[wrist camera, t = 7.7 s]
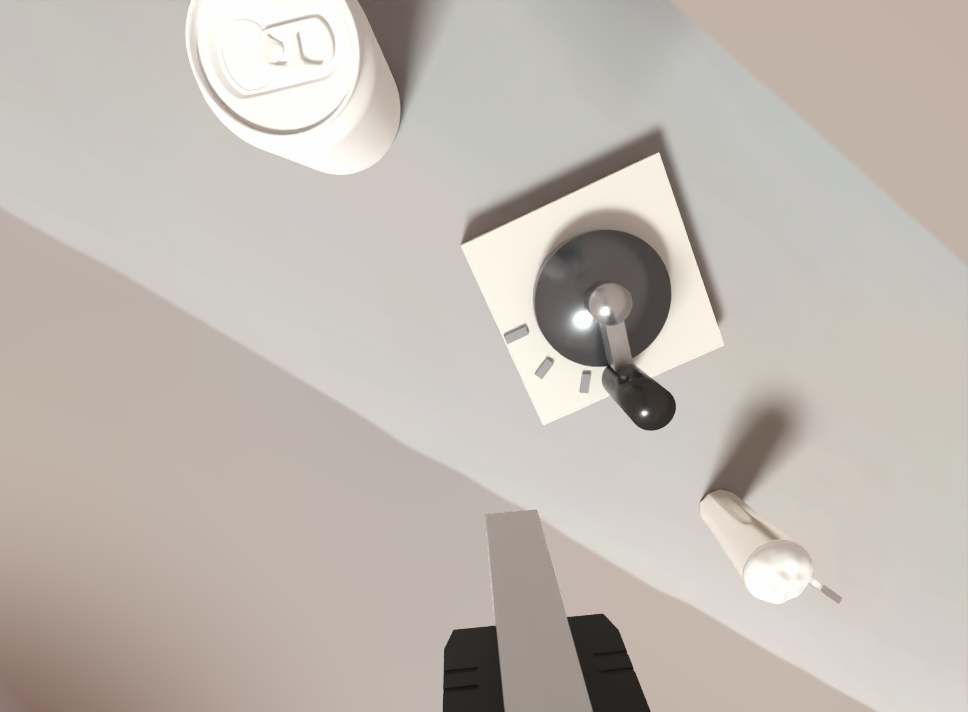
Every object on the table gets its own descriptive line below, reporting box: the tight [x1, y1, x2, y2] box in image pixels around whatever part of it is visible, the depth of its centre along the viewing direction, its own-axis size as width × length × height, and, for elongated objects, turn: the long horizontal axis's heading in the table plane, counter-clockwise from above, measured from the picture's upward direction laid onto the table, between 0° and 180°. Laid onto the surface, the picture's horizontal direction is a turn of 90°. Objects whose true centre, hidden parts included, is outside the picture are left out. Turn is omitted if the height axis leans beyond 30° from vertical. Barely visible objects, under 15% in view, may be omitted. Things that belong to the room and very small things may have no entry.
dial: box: [533, 230, 676, 430], centre depth 31 cm, size 11×9×7 cm
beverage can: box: [186, 0, 400, 174], centre depth 27 cm, size 8×8×12 cm
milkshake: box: [700, 489, 842, 604], centre depth 37 cm, size 4×5×10 cm
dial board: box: [461, 153, 724, 425], centre depth 36 cm, size 14×14×2 cm
